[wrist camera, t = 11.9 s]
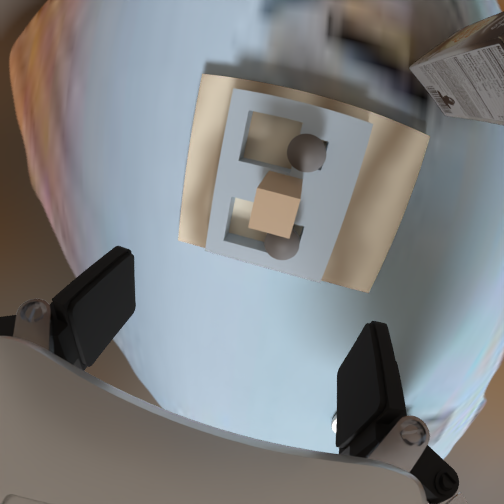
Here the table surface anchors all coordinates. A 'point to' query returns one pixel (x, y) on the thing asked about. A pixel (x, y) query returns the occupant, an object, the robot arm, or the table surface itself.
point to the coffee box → (468, 72)
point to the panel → (315, 187)
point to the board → (272, 149)
